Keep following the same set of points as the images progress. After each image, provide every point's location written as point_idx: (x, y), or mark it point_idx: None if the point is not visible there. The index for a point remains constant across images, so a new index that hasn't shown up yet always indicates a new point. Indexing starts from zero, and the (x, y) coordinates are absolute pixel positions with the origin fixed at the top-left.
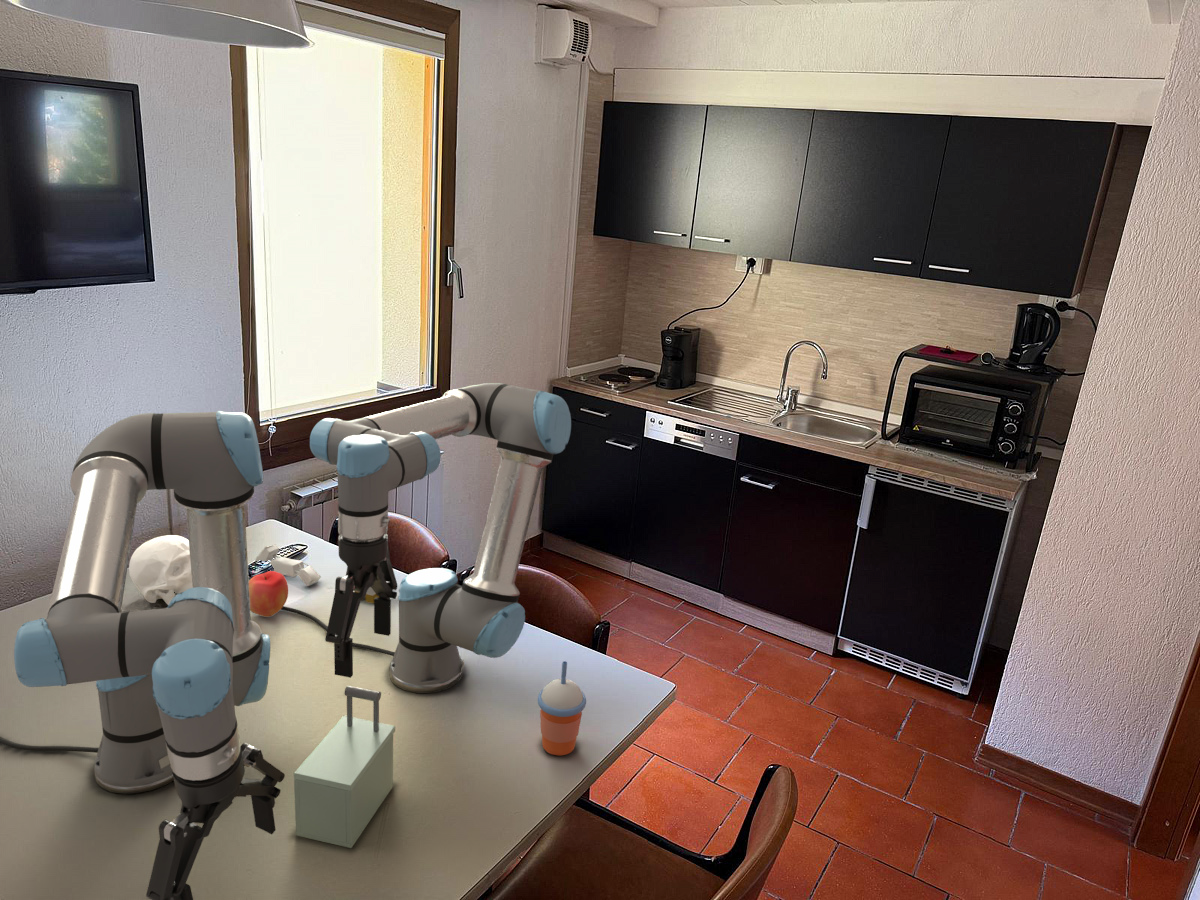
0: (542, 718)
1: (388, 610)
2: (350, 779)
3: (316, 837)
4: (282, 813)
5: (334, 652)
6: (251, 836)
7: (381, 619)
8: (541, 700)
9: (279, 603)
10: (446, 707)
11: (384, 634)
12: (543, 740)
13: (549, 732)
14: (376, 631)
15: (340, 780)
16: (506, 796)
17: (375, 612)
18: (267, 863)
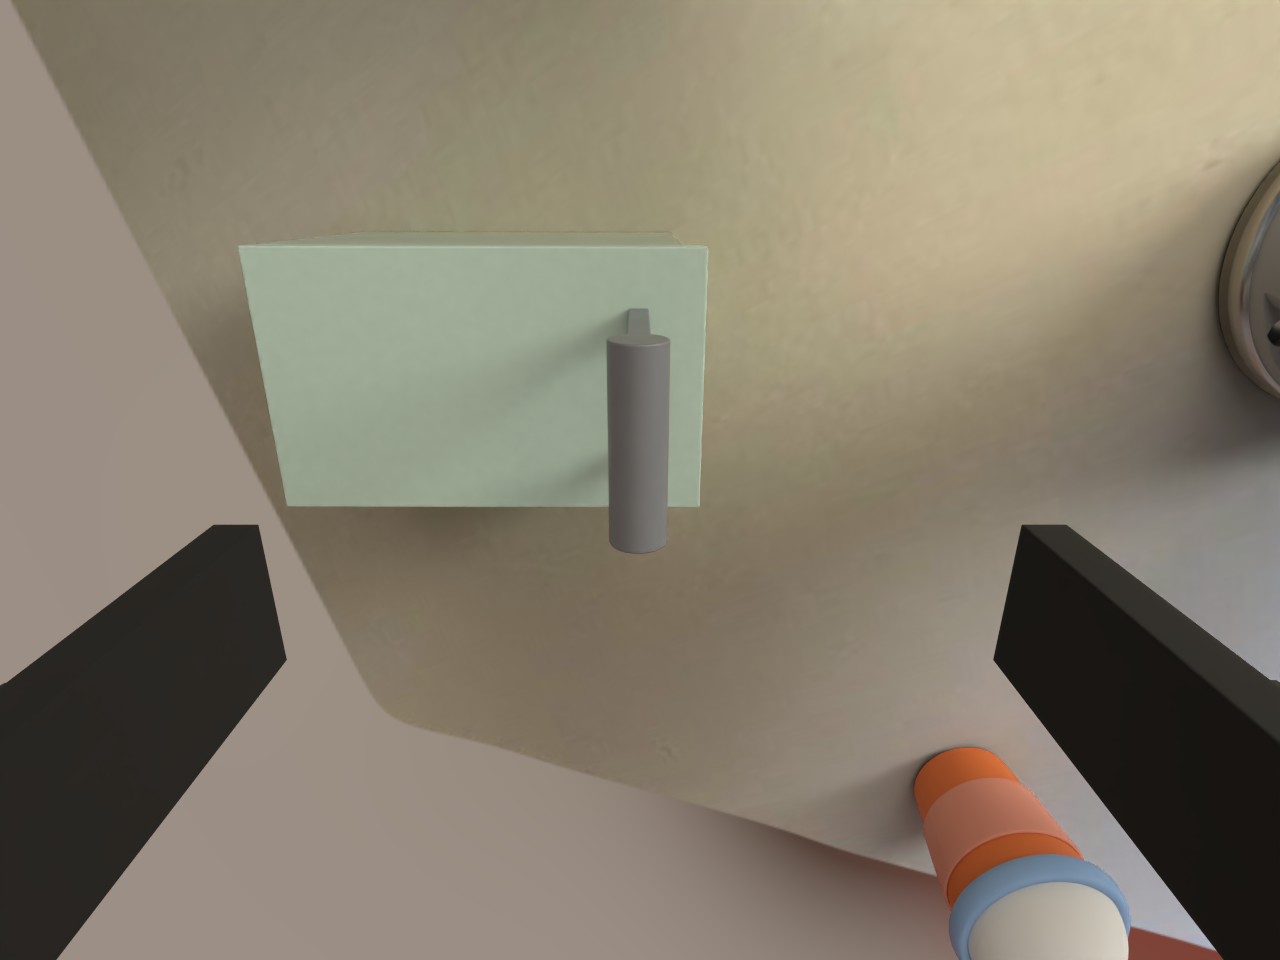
0: (974, 839)
1: (1179, 896)
2: (316, 490)
3: None
4: (432, 125)
5: (27, 669)
6: (298, 82)
7: (1106, 702)
8: (1011, 890)
9: None
10: (1128, 421)
11: (1004, 627)
12: (946, 775)
13: (939, 832)
14: (1030, 559)
15: (292, 457)
16: (719, 715)
17: (1183, 691)
18: (230, 209)
